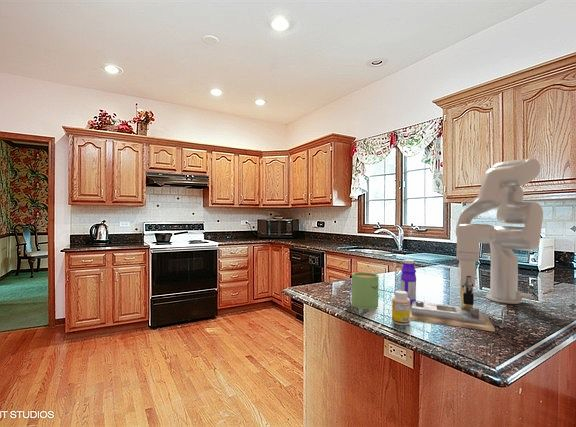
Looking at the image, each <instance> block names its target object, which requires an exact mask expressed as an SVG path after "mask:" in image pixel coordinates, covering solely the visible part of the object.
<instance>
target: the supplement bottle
mask: <svg viewBox="0 0 576 427" xmlns="http://www.w3.org/2000/svg"><path fill="white" fill-rule="evenodd" d="M407 297H408V293H407V292H405V291H401V290H395V291H394V296H393V297H392V300H391V301H392V302H391V304H392V305H391V307H392V308H391V313H392V314H391V317H392V318H391V319H392V322H393V324H396V325H398V326H408V325H410V323H411V319H410V306H411V304H410V299H409V298H407Z"/></svg>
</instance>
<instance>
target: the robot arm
mask: <svg viewBox="0 0 576 427" xmlns="http://www.w3.org/2000/svg"><path fill="white" fill-rule="evenodd" d="M540 172H541V164H540V162H539V160H537V158H532V157H531V158H521V159H515V160H514V159H513V160H507V161H500V162H497V163H495V164H494V165H492V167H491V168H489V169H487V171H485V173H484V175H483V179H482V182H481V185H480V188H479V191H478V195H477V198H476V199H475V200H474V201H473V202H472V203H470V204H469V205H468V206H467V207H465V209H464V210H463V211H462V212H461V213H460V215H459V218H458V219H457V220H458V221H457V223H456V227H455V236H456V260H457V261H459V262H458V269H457V270H458V271H457V272H458V276H457V283H458V285H459V287H460V288H461V287H464V295H463V303H464V304H468V305H473V306H474V298H475V296H474V288H475V287H476V270H477V269H476V263H477V262H480V244H489V249H490V283H489V284H490V293H487V294H485V297H486V300H487V299H488V300H490V301H493V302H497V303H502V304H509V305H518V304H521V303H523V299H528V300H532V298H533V296H532V294H531V293H525V292H521V291H519V290H518V289H519V288H518V286H519V285H518V280H519V276H518V275H519V271H518V270H519V266H518V265H519V261H518V257H517V255H516V253H515V252H514V251H513V250H516V251H527V252H528V251H530V252H531V251H535V250H536V249H537V248H538V247H539V245H540V241H541V240H540V239H541V234H542V227H543V219H544V210H543V207H542V206H541V205H540V203H538V202H536V201H524V194H525V193H524V192H525V191H524V189H523V188H522V187H523V186H525V185H527V184H529V183H530V182H531V181H533V180H535V179H536V178H537V177H538V176H539V175H540ZM494 209H497V210H496V220H497V222H499V223H501V224H505V225H499V226H494V225H491V224H489V223H472V222H473V221H474V219H475V218H476V217H478V216H480V215H482V214H484V213H486V212H490V211H492V210H494ZM510 225H511V226H510ZM512 225H513V226H512ZM514 225H524V226H514Z"/></svg>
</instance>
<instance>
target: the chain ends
mask: <svg viewBox="0 0 576 427" xmlns="http://www.w3.org/2000/svg"><path fill="white" fill-rule="evenodd" d="M411 306H412V315H419V316H426V317H433V318H440V319H448V320H455V321H462V322H470V323H477V324H484V325H486V320H485V319H484V317H483V315H484V314H482V312H480V308H477V307H473V308H470V311H468V310H463V309H461V306H455V305H447V304H441V303H440V304H438V303H430V302H424V301H417V300H416V302H415V301H413V302H412V304H411Z"/></svg>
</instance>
